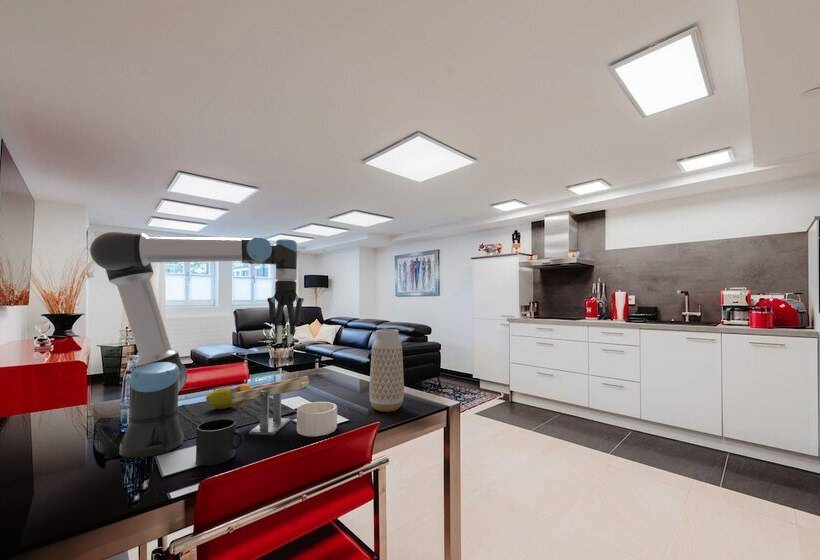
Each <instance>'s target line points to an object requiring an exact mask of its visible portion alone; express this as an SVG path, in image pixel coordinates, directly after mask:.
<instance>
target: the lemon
mask: <svg viewBox="0 0 820 560" xmlns="http://www.w3.org/2000/svg"><path fill="white" fill-rule="evenodd" d="M230 389H231V388H230V387H220V388H216V389H214V390H213V391H212V392H210V393H208V394H206V396H205V400H206V403H207V404H209V405H210V406H211V407H212V408H214V409H216V410H223V409H228V408H230V407H232V406H233V405H235V402H233V403H232V397H231V391H230Z"/></svg>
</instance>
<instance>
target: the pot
mask: <svg viewBox="0 0 820 560" xmlns="http://www.w3.org/2000/svg"><path fill="white" fill-rule="evenodd" d="M337 428H338V406H337V404H336V403H333V402H329V401H314V402H313V401H312V402H308V403H304V404H301V405H299V406H298V407H297V408H296V432H297V434H299V435H301V436H304V437H319V436H325V435H329V434H331V433H333V432H335V431H336V429H337Z"/></svg>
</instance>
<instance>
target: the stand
mask: <svg viewBox="0 0 820 560" xmlns="http://www.w3.org/2000/svg"><path fill="white" fill-rule="evenodd" d="M272 398H273V399H272V400H273V403H272V406H273V407H272V417H270V414H269V413H270V412H269V411H270V395H269V391H261V397H260V405H259V410H260V411H259V412H260V413H259V424H258V425H256V426H255V427H254V428H252V429H251V430H249V431H248V435H256V436H257V435H259V436H261V435H263V436H266V435H267V436H274V435H276V433H278V432H279V431H280V430H281V429H282V428H283V427H285V426H286V425H287V424H288V423H289V422H291V418H288V417H287V418H286V417H285V418H284V417H282V393H279V394H274V395H273V397H272Z"/></svg>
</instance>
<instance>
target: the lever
mask: <svg viewBox="0 0 820 560" xmlns="http://www.w3.org/2000/svg"><path fill="white" fill-rule="evenodd" d="M243 384H244V383H241V384H239V385H237V386H235V387H233V388H230V391H231V397H232V403H233V402H234V405H235V409H236V410H237V409H238V410H239V409H243V408H247V407H248V406H250V405H251V404H253V403H254V401H255V400H254V399H258V398H261V391H269V396H272V395H274V394H279V393H281V394H283V393H289V392H293V391H299V390H302V389H304V388H305V387H308V386H309V385H310V380H309V376H308V375H305V376H298V377H295V378H289V379H284V380H279V381H274V382H270V383H264V384H258V385H254V386H250V387H251V390H247V391H242V392H240V391H239V389H240V387H241V385H243Z"/></svg>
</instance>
